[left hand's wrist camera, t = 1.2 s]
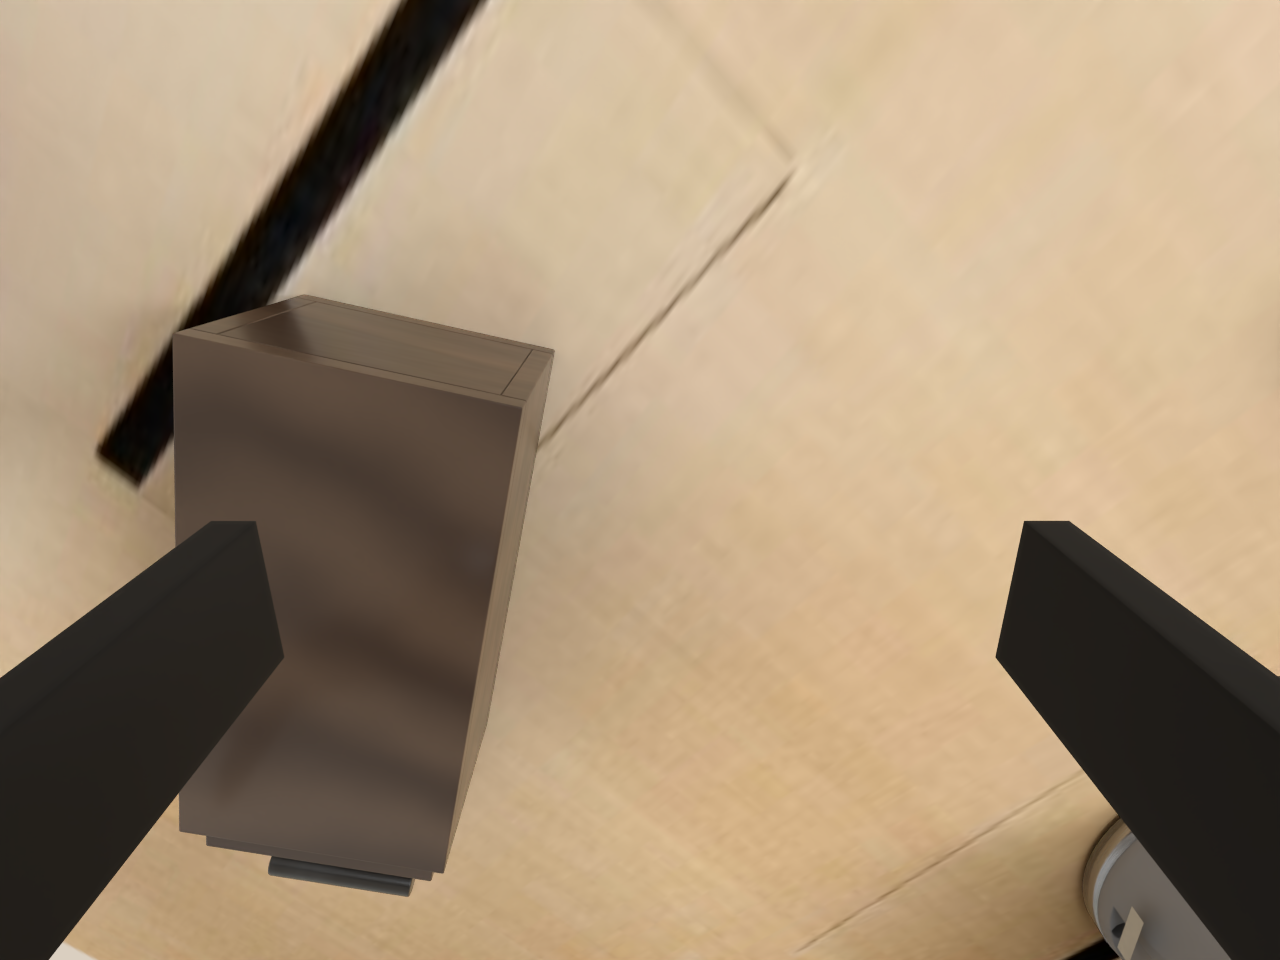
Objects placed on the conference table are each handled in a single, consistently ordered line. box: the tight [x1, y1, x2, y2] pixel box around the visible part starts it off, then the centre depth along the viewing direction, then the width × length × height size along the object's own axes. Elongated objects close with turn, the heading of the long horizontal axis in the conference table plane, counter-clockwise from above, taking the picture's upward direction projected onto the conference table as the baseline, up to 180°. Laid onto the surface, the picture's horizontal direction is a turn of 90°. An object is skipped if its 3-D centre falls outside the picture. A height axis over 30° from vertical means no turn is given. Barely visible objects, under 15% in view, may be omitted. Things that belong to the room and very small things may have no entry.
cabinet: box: [173, 295, 555, 873], centre depth 32 cm, size 22×11×10 cm, turn 168°
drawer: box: [206, 836, 434, 897], centre depth 34 cm, size 26×10×8 cm, turn 168°
